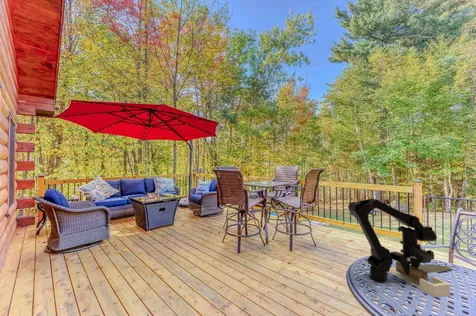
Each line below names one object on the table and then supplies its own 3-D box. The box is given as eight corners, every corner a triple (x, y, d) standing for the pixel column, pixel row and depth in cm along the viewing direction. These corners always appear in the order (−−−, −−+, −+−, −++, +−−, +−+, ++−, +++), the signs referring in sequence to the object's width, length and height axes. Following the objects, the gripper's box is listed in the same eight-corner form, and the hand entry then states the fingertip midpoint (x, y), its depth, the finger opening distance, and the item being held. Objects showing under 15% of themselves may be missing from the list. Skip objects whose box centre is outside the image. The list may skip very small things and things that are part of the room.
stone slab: (404, 270, 114) (424, 277, 105) (403, 265, 115) (423, 271, 105) (434, 266, 120) (455, 272, 111) (433, 260, 121) (454, 266, 111)
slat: (420, 283, 94) (420, 273, 94) (396, 270, 106) (395, 261, 106) (427, 283, 95) (427, 272, 95) (402, 270, 107) (402, 261, 107)
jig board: (436, 299, 87) (435, 297, 87) (382, 269, 112) (382, 268, 112) (449, 297, 88) (449, 295, 88) (393, 268, 113) (393, 267, 113)
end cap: (435, 297, 87) (434, 285, 87) (419, 288, 93) (419, 278, 93) (450, 294, 88) (449, 283, 88) (434, 287, 94) (433, 276, 94)
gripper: (410, 248, 91) (411, 285, 91) (444, 245, 95) (445, 280, 94) (387, 239, 102) (388, 272, 102) (418, 237, 106) (420, 269, 105)
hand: (410, 273), depth 100 cm, fingers closed on slat, 4 cm apart
